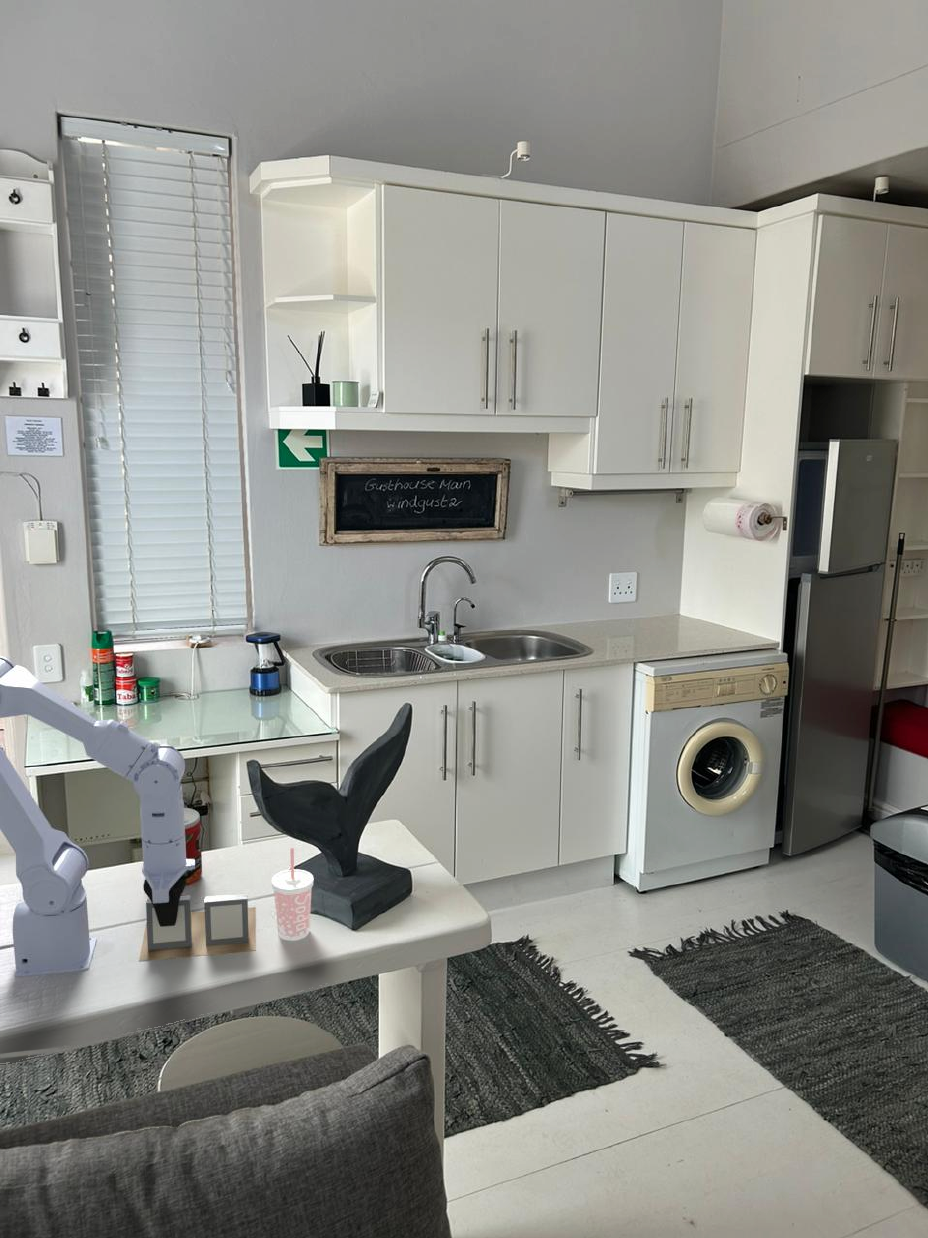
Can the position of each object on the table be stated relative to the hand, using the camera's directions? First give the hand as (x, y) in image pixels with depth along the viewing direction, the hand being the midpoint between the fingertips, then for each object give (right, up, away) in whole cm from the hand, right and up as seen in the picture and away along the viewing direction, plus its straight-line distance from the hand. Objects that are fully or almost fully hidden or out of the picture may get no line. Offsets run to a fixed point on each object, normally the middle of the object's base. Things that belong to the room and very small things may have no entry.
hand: (168, 923), depth 136 cm
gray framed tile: (+7, -4, +4) cm, 9 cm away
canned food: (-5, 0, +22) cm, 23 cm away
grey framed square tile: (0, -4, +2) cm, 5 cm away
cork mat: (+3, -4, +6) cm, 8 cm away
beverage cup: (+17, -4, +7) cm, 18 cm away
